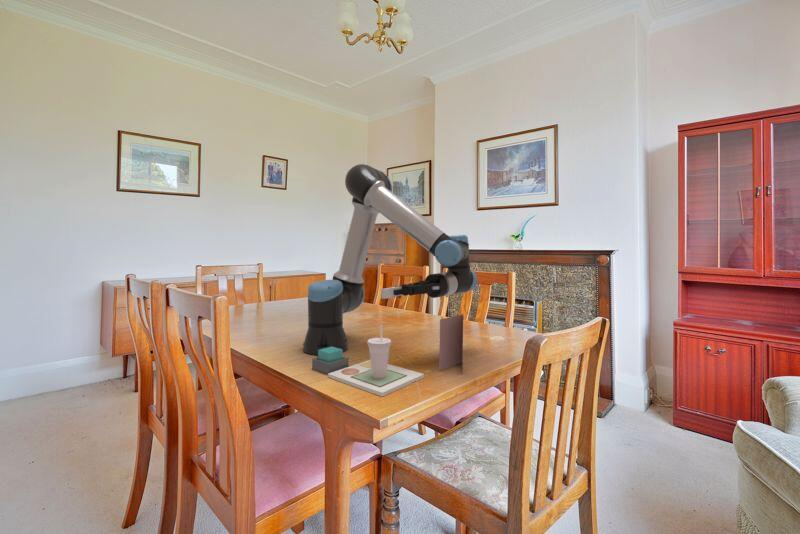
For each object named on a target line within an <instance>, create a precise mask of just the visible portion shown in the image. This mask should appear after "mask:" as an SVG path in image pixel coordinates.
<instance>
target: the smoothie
mask: <svg viewBox="0 0 800 534" xmlns="http://www.w3.org/2000/svg"><path fill="white" fill-rule="evenodd" d="M379 327H380V329H379V332H380V333H379V334H380V335H379V337H372V338H370V339H367V346H368V353H369V360H371V368H372V376H373V378H377V379H381V378H385V377H386V374H387V366H388V364H389V358H390V357H389V356H390V349H391V345H392V340H391V339H390V338H387V337H383V324H379Z"/></svg>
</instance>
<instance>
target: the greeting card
mask: <svg viewBox="0 0 800 534" xmlns="http://www.w3.org/2000/svg"><path fill="white" fill-rule="evenodd" d="M463 339H464V314H458V315H454V316H449V317H445V318H440V319H439V360H438V361H439V365H438V367H439V369H438V371H439V372H440V371H443V370H445V369H448V368H450V367H454V366H456V365H458V364H463V358H464V356H463V353H464V350H463V349H464V340H463Z"/></svg>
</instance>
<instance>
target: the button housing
mask: <svg viewBox="0 0 800 534" xmlns="http://www.w3.org/2000/svg"><path fill="white" fill-rule="evenodd" d="M311 362H312V363H311V365H312V367H311V368H312V370H313V369H314V371H316V370H317V372H319V371H320V372H319V373H322V372H323V373H322V374H325V373H326V374H325V375H328V374H329V373H332V372H335V371H338V370H341V369H344V368H347V367H350V366H349V365H350V364H349V362H350V361H349V357H346V356H343V359H341V360H337V361H334V362H331V363H327V362H324V361H321V360H318V356H317V357H314V358H312V360H311Z"/></svg>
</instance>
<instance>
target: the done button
mask: <svg viewBox="0 0 800 534" xmlns="http://www.w3.org/2000/svg"><path fill="white" fill-rule="evenodd" d="M343 355H344V352H343V349H339V348H335V347H332V346H331V347H328V348H324V349H320V350H318V355H317V357H318V360H321V361H324V362H327V363H331V362H334V361H337V360H341V359H343V357H344V356H343Z"/></svg>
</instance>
